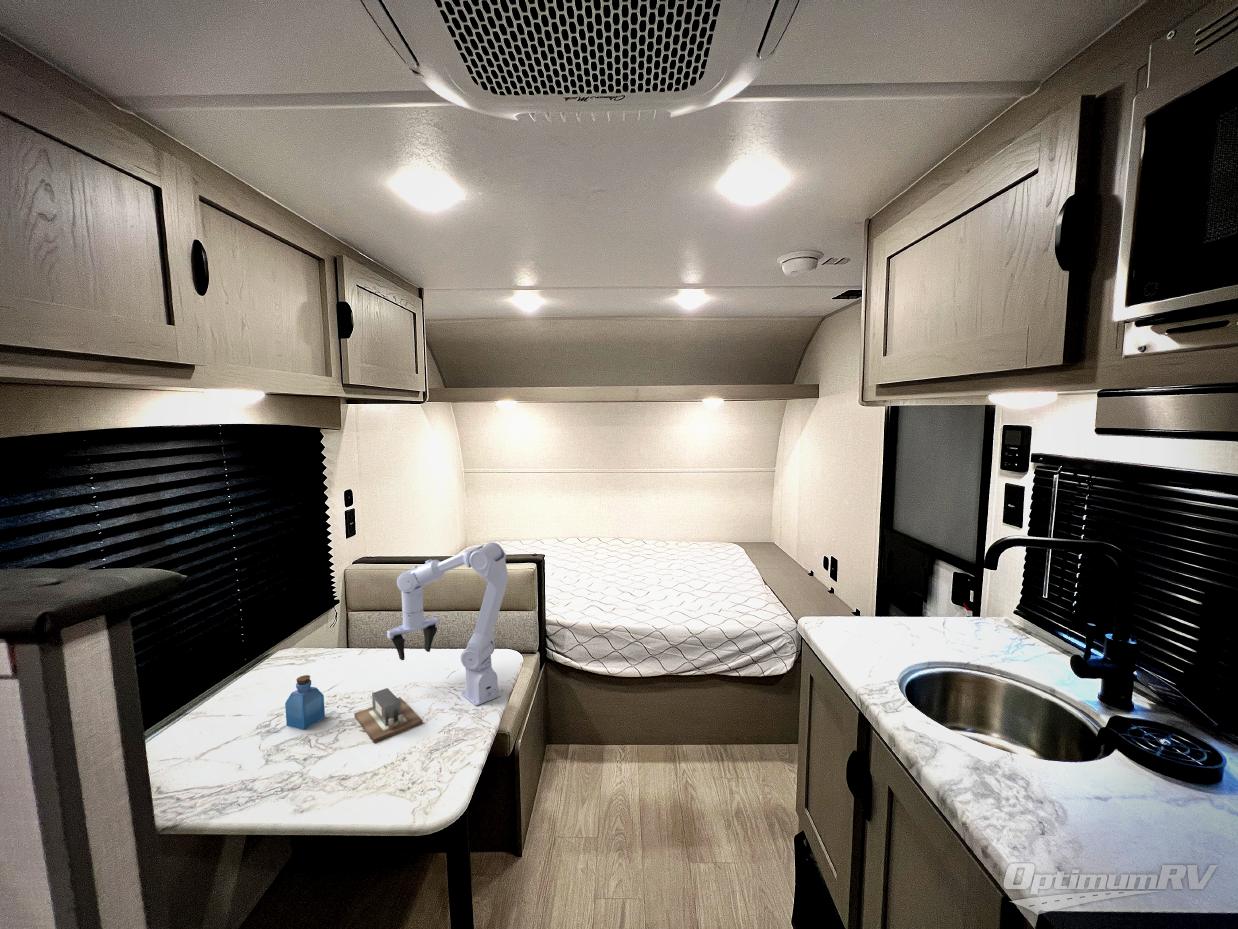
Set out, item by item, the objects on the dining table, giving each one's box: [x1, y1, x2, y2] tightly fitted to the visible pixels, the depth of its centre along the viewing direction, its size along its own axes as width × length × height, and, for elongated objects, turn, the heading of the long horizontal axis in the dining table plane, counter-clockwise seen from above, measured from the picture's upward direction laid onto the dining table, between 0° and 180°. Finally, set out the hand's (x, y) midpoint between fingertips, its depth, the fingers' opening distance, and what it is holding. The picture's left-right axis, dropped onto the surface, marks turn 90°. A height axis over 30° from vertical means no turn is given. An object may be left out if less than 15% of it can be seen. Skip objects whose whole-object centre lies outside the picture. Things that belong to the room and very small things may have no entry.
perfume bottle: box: [284, 674, 326, 731], centre depth 135 cm, size 6×6×12 cm
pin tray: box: [354, 696, 423, 744], centre depth 135 cm, size 16×12×4 cm
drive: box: [371, 687, 401, 726], centre depth 136 cm, size 10×4×5 cm, turn 43°
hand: (415, 654), depth 151 cm, fingers open, 7 cm apart
